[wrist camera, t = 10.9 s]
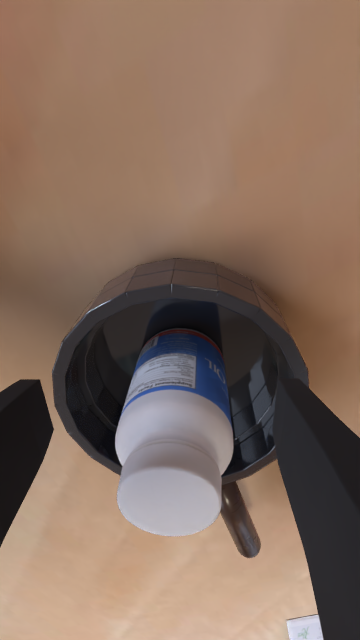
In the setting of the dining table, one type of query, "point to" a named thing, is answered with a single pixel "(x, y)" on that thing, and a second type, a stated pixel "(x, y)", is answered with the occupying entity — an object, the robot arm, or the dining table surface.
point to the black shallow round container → (168, 313)
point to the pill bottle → (175, 435)
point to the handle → (239, 521)
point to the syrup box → (305, 628)
